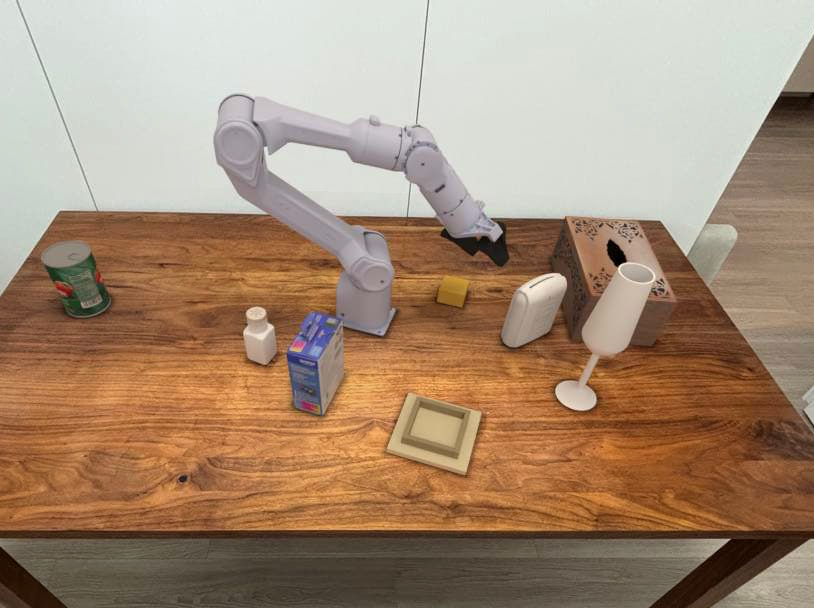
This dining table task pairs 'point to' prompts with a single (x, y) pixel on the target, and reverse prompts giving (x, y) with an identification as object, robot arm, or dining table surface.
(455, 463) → the base pad
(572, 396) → the champagne flute
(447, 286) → the mustard block
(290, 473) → the dining table surface
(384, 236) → the robot arm
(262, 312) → the pepper shaker
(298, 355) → the ink cartridge box
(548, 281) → the photo printer
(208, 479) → the dining table surface
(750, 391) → the dining table surface
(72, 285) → the canned tomato
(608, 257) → the tissue box cover
